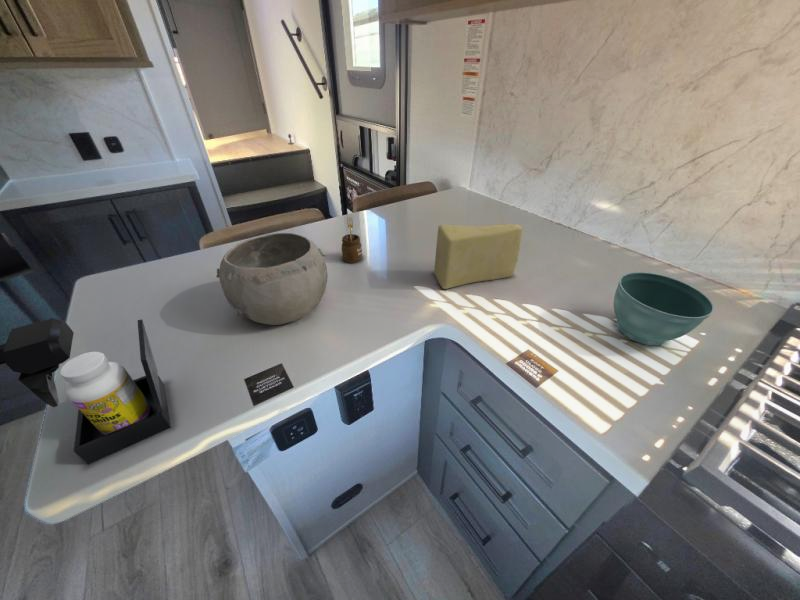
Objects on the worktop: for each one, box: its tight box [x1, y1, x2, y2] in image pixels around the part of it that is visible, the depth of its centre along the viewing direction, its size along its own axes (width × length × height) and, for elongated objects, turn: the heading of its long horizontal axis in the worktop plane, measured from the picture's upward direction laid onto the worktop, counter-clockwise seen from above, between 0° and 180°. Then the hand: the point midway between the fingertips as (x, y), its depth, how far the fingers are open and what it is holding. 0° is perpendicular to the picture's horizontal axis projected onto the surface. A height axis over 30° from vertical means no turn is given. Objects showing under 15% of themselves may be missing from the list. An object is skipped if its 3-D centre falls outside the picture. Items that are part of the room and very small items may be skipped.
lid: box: [137, 319, 163, 413], centre depth 48 cm, size 11×10×1 cm
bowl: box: [215, 232, 329, 326], centre depth 72 cm, size 23×23×15 cm
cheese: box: [433, 223, 523, 290], centre depth 84 cm, size 22×10×15 cm, turn 100°
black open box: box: [73, 375, 171, 466], centre depth 50 cm, size 10×10×4 cm
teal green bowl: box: [613, 271, 715, 346], centre depth 68 cm, size 16×16×11 cm
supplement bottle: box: [59, 351, 151, 435], centre depth 47 cm, size 7×7×13 cm
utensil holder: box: [341, 216, 363, 264], centre depth 93 cm, size 6×6×12 cm
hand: (2, 423), depth 36 cm, fingers open, 9 cm apart
